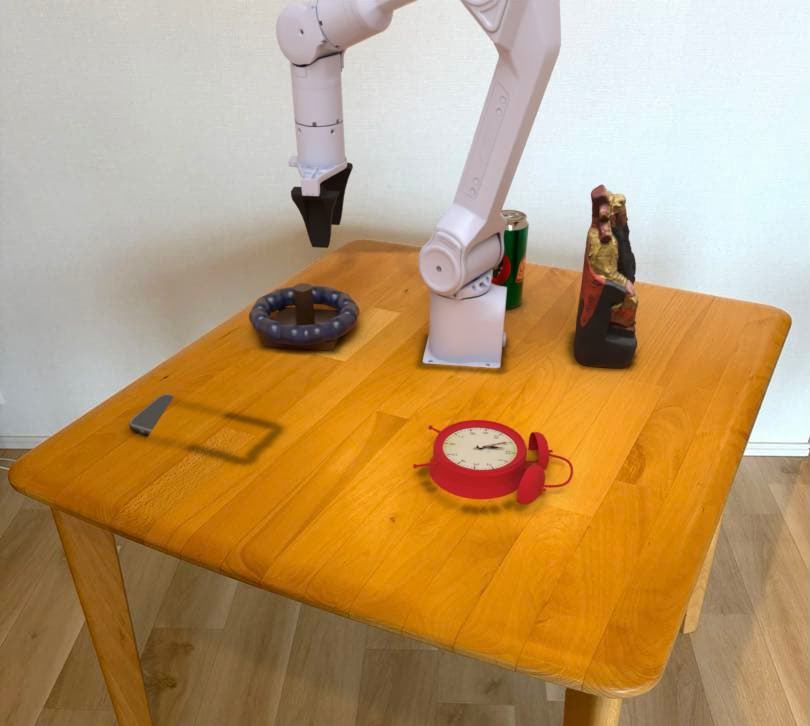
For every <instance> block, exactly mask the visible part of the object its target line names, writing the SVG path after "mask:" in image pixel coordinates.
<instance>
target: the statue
mask: <svg viewBox="0 0 810 726" xmlns="http://www.w3.org/2000/svg"><path fill="white" fill-rule="evenodd" d="M590 200H591V222H590V223H591V224H590V227H589V228H588V230H587V234H586V240H585V250H584V256H583V266H582V275H581V283H580V284H581V285H580V289H579V290H580V291H579V298H578V304H577V312H576V319H575V332H574V338H573V355H574V359H575V360H576V361H577V362H578V363H579V364H581V365H584V366H588V367H597V368H598V367H600V368H612V369H613V368H614V369H623V368H626V367H630V366H631V364H632V362H633V360H634V357H635V355H636V351H637V348H638V339H637V336H636V332H637V331H636V325H637V321H636V318H637V317H636V316H637V311H638V306H639V294H638V292H637V290H636V288H635V285H634V284H635V282H636V276H635V275H636V272H637V271H636V270H637V262H636V258H635V253H634V252H633V250H632V246H631V241H630V232H631V230H630V228H629V224H628V221H629V218H628V214H627V213H628V212H627V207H626V203H627V199H626V196H625V194H623V193H613V192H612V191H611V190H608V189H607V188H606V186H605V185H604V184H599V185H597V186H595V187H594V188H593V189H592V190H591V192H590Z"/></svg>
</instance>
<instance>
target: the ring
mask: <svg viewBox="0 0 810 726" xmlns="http://www.w3.org/2000/svg"><path fill="white" fill-rule="evenodd" d="M294 286H295V285H293V286H287V287H281V288H277V289H275V290H272V291H271V292H269V293H266V294H265V295H262V296H260V297H258V298H257V299H256V300H255V303H254V304H253V306H252V307H251V309H250V311H249V313H248V320H249V322H250V323H251V325H252V327H253V329H254V331H255V332H256V333H257V334H258V336H260V337H262V338H263V337H265V338H267V339H270V340H272V341H275V342H277V343H280V344H291V345H313V344H318V343H323V342H328V341H333V340H335V339H337V338H338V339H339V338H340V337H342V336H344V335H346V334H348V333H349V332H352V330H353V329H355V326H356V324H357V321H358V319H359V316H360V313H361V312H360V307H359V306H358V304H357V303H356V302H355V300H354V299H353V298H352V297H351V296H350V295H349V293H347V292H344V291H341V290H338V289H335V288H333V287H329V286H325V285H311V286H312V290H313V304H314V305H320V306H326V307H328V308H331V309H333V310H338V311H339V315H338V316H336V317H334V318H332V319H330V320H329V321H327V322H322V323H316V324H311V325H290V324H283V323H280V322H277V321H275V320H273V319H272V318H271V315H272V314H273V313H275V312H278V310H279V309H281V308H283V307H294V306H295V304H294V293H293V287H294Z"/></svg>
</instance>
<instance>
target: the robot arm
mask: <svg viewBox="0 0 810 726" xmlns="http://www.w3.org/2000/svg"><path fill="white" fill-rule="evenodd" d="M417 1H418V0H307V1H304V2H288V3H287V5H286V7H285V8H283V9H282V10H281V11H280V12H279V15H278V16H277V19H276V25H275V34H276V35H275V36H276V40H277V43H278V47H279V49H280V51H281V52H282V54H283V56H284V57H285V58H286V59H287V61H289V65H290V66H289V68H290V80H291V91H292V92H291V93H292V104H293V116H294V128H295V140H296V152H297V155H292V156H290V157H289V158H288V160H287V163H288V167H291V168H296V169H297V170H298V173H299V175H300V186H293V188H292V189H291V190H290V197H291V200H292V202H293V203H294V204H295V206H296V208H297V209H298V211H299V213H300V216H301V217H302V220H303V224H304V226H305V230H306V233H307V236H308V239H309V242H310V245H311V247H312V248H320V249H328V248H329V247H330V243H331V237H332V226H340V225H341V221H342V217H343V210H344V201H345V194H346V190H347V185H348V182H349V179H350V176H351V174H352V171H353V169H354V166H353V163H351V162H348V158H347V156H346V147H345V127H344V126H345V125H344V107H343V103H344V102H343V83H342V72H343V69H344V68H345V60H344V58H345V54H346V51H347V50H348V49H349V48H350V47H353V46H355V45H357V44H359V43H361V42H364V41H366V40H368V39H370V38H372V37H375V36H376V35H378V34H381V33H383V32H385V31H386V30H388V29H389V27H390V26H391V23H392V20H393V17H394V11H397V10H399V9H401V8H404V7H405V6H408V5H410V4H413V3H415V2H417ZM459 1H460V3H461V4H462V6H464V8H465V9H466V10H467V11H468V12H469V14H470V15H471V16H472V18H473V19H474V20H475V21H476V23H477V24H478V25H479V27H480V28H481V29H482V31H483V32H484V33H485V34H486V35H487V36H488V38H489V40H491V42H493V45H494V47H495V49H496V52H497V54H498V59H497V62H496V65H495V68H494V71H493V75H492V78H491V81H490V84H489V87H488V91H487V94H486V97H485V100H484V103H483V107H482V110H481V114H480V116H479V119H478V122H477V125H476V129H475V132H474V134H473V138H472V141H471V144H470V148H469V151H468V154H467V157H466V160H465V164H464V167H463V170H462V172H461V176H460V179H459V183H458V185H457V189H456V192H455V195H454V198H453V201H452V203H451V205H450V206H449V208H448V209H447V210H446V211H445V213H444V214H443V216H441V218H440V219H439V221H438V222H437V223H436V225H435V227H434V230H433V233H432V235H431V238H430V239H429V240H428V241H427V242H426V243H424V245H423V246H422V247H421V248H420V250H419V253H418V255H417V256H418V257H417V268H418V272H419V276H420V277H421V280H422V281H423V283H424V284H425V286H427V292H429V321H428V322H429V323H428V324H429V325H428V335H427V341H426V345H425V349H424V353H423V357H422V364H429V365H430V364H431V365H445V366H446V365H448V366H462V367H463V366H464V367H478V368H494V369H501V367H502V366H501V365H502V355H503V354H502V353H503V348H505V347H506V342H507V340H506V339H507V331H505V319H506V310H507V309H506V297H507V287H503V286H498V285H495V284H492V283H491V279H492V276H493V268H495V267H496V266H497V265H498V264H499V263H500V261H501V260H502V257H503V254H504V231H505V228H506V225H507V220H506V218H505V217H504V216H503V214H502V213H501V211H502V210H503V208H504V205H505V202H506V200H507V197H508V194H509V191H510V188H511V186H512V183H513V180H514V178H515V175H516V173H517V170H518V167H519V164H520V161H521V159H522V156H523V153H524V151H525V148H526V146H527V142H528V140H529V137H530V134H531V132H532V128H533V126H534V123H535V120H536V118H537V116H538V112H539V110H540V107H541V104H542V101H543V98H544V96H545V94H546V91H547V88H548V85H549V82H550V80H551V77H552V74H553V72H554V69H555V65H556V63H557V62H558V61H557V60H558V57H559V55H560V50H561V47H562V46H561V45H562V32H561V31H562V29H561V27H562V26H561V25H562V24H561V1H560V0H459Z"/></svg>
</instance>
